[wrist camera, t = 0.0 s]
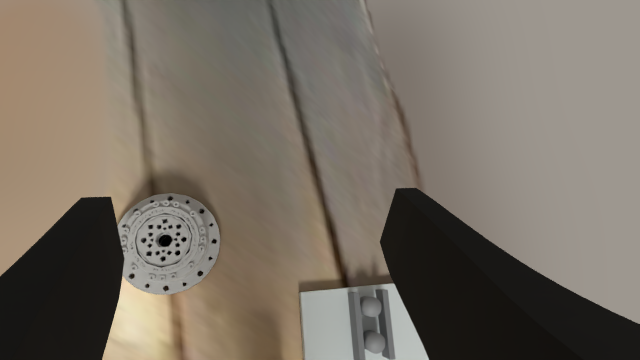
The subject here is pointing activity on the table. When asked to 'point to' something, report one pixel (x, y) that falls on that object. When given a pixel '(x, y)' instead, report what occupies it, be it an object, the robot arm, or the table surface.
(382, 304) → the chain base
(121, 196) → the table surface
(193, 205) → the mechanical component
